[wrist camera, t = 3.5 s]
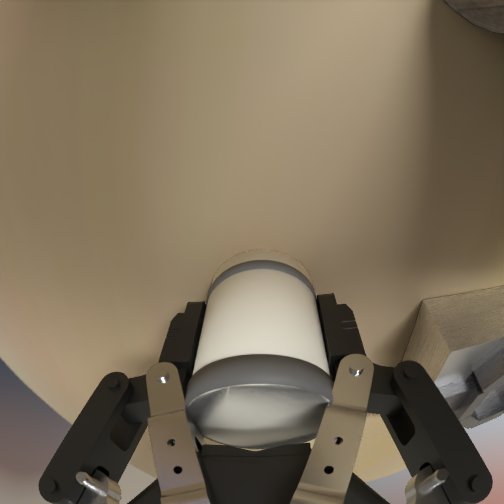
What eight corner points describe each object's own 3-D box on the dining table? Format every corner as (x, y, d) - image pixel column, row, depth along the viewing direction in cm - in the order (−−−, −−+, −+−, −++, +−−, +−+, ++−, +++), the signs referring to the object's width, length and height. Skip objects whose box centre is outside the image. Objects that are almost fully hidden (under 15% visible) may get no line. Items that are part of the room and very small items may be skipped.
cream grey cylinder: (199, 252, 14) (161, 380, 8) (315, 243, 13) (349, 374, 7) (219, 332, 16) (202, 448, 10) (313, 326, 16) (330, 443, 10)
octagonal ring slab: (403, 302, 15) (439, 382, 10) (556, 273, 14) (592, 318, 9) (374, 391, 20) (389, 454, 15) (515, 352, 18) (538, 396, 14)
